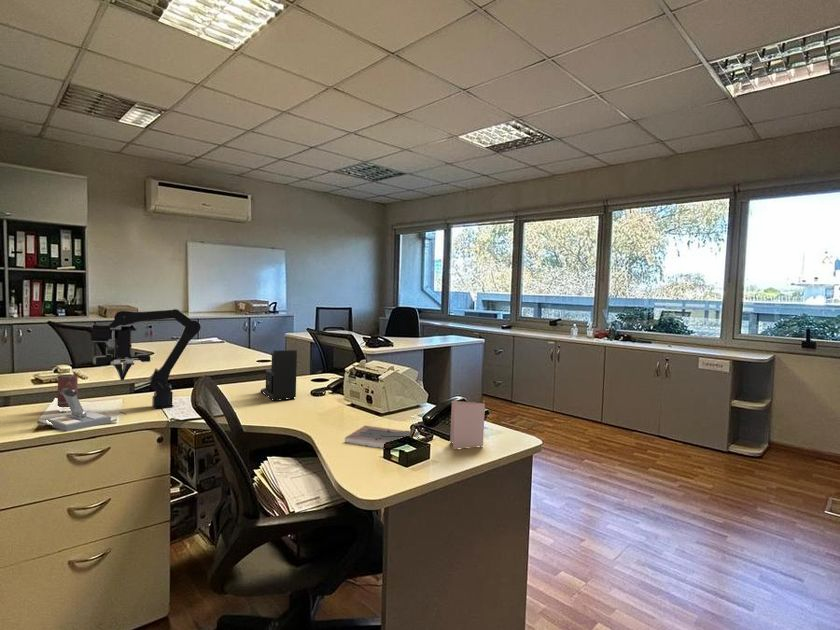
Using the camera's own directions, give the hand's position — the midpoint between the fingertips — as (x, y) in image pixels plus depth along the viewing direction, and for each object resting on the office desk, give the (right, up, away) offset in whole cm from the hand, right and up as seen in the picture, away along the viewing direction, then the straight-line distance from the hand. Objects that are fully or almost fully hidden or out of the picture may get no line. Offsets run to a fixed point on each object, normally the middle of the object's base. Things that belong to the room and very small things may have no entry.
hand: (122, 380), depth 183 cm
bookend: (+51, -13, +38) cm, 65 cm away
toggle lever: (-2, -9, -20) cm, 22 cm away
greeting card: (+135, -19, -29) cm, 140 cm away
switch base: (-2, -13, -20) cm, 24 cm away
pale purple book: (+107, -18, -24) cm, 111 cm away
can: (-19, -12, -4) cm, 22 cm away
